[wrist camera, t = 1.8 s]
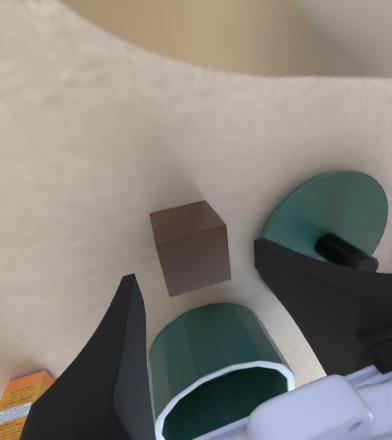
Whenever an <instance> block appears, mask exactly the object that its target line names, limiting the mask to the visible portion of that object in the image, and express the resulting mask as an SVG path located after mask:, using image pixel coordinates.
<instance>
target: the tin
mask: <svg viewBox="0 0 392 440" xmlns="http://www.w3.org/2000/svg"><path fill="white" fill-rule="evenodd" d="M148 378H149V388H150V396H151V405H152V412H153V420H154V428H155V435H156V440H192V439H195V438H197V437H200V436H202V435H205V434H207V433H209V432H212V431H214V430H217V429H219V428H221V427H224V426H226V425H229V424H231V423H233V422H236V421H238V420H241V419H243V418H246V417H248V416H250V414H251V413H252V412H253V411H254V410H255V409H256V408H257V407H258V406H259V405H260V404H262V403H264V402H266V401H268V400H269V399H271V398H274V397H276V396H279V395H281V394H284V393H286V392H288V391H291V390H293V389H295V381H294V373H293V371H292V370H291V368H290V367H289V365H288V363H287V362H286V360H285V359H284V357H283V355H282V354H281V352H280V351H279V349H278V347H277V346H276V344H275V343H274V341H273V339H272V338H271V336H270V335H269V333H268V331H267V330H266V328H265V327H264V325H263V323H262V322H261V321H260V320H259V319H258V317H257V316H256V315H255V314H254V313H253V312H252V311H251V310H249V309H247V308H245V307H243V306H240V305H236V304H228V303H223V304H212V305H207V306H203V307H200V308H197V309H194V310H192V311H190V312H187V313H185V314H184V315H182V316H180V317H178V318H177V319H175V320H174V321H172V322H171V323H170V324H169V325H168V326H166V327H165V328H164V329H163V330H162V331H161V332H160V334H159V335H158V336H157V337H156V339H155V340H154V342H153V344H152V346H151V349H150V351H149V356H148Z"/></svg>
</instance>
